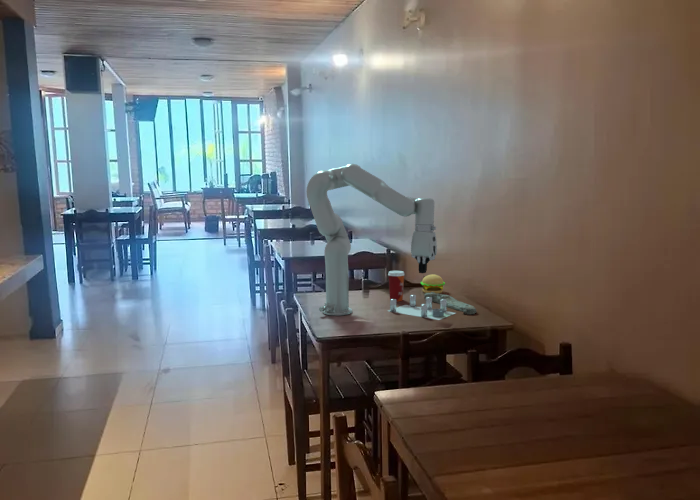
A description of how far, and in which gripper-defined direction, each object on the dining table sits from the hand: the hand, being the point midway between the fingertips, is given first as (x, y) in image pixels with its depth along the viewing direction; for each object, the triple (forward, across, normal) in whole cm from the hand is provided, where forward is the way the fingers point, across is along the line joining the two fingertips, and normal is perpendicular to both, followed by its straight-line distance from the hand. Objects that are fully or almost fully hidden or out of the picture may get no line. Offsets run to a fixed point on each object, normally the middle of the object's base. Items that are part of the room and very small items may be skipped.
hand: (422, 272), depth 242 cm
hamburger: (+18, +19, -42) cm, 50 cm away
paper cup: (+18, +21, -13) cm, 31 cm away
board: (+18, 0, 0) cm, 18 cm away
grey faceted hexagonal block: (+16, -8, +1) cm, 19 cm away
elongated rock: (+18, -2, -21) cm, 28 cm away
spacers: (+17, +2, 0) cm, 17 cm away
